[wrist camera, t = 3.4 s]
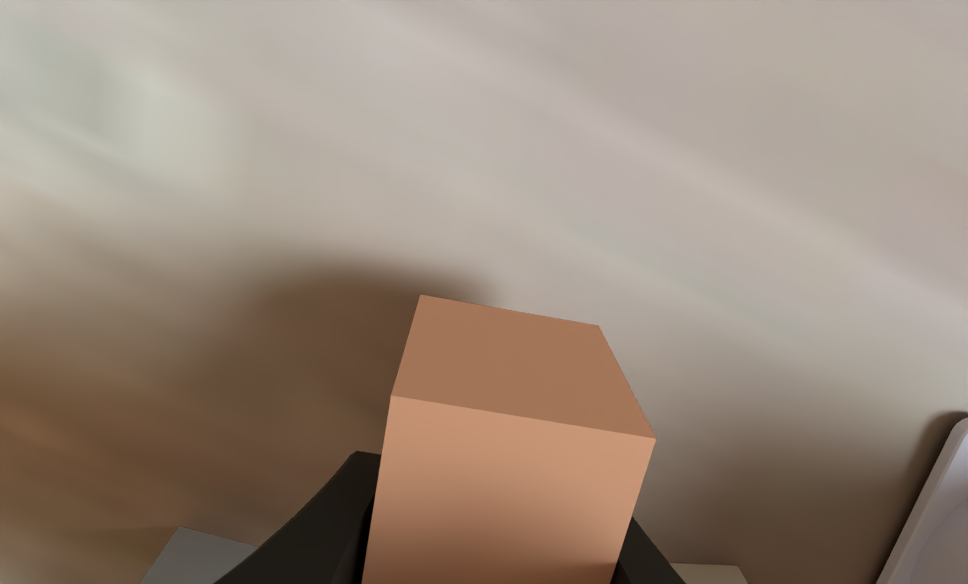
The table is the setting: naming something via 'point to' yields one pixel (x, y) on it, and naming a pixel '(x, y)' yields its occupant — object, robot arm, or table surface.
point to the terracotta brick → (505, 453)
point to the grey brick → (709, 574)
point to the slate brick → (196, 558)
